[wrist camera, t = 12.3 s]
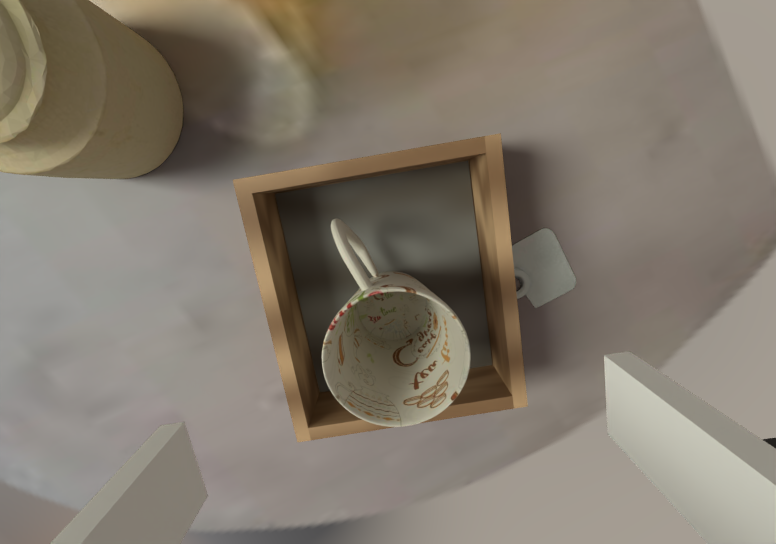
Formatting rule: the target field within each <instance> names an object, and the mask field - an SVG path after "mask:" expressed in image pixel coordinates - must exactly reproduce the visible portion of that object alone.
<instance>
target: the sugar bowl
mask: <svg viewBox="0 0 776 544" xmlns="http://www.w3.org/2000/svg"><path fill="white" fill-rule="evenodd" d="M182 125H183V102H182V96H181V92H180V89H179V86H178V83H177V80H176V78H175V76H174V74H173V71H172V70H171V68H170V67H169V65H168V64H167V62H166V61H165V59H164V58H163V56H162V55H161V54H160V53H159V52H158V51H157V49H156V48H154V47H153V46H152V45H151V44H150V43H149V42H148V41H146V40H145V39H144V38H142V37H141V36H139V35H138V34H137V33H135V32H134V31H132V30H131V29H129V28H128V27H126V26H125V25H124V24H122V23H121V22H119V21H118V20H117V19H115V18H114V17H112V16H111V15H109V14H108V13H107V12H105V11H104V10H102V9H101V8H99V7H98V6H96V5H95V4H93V3H92V2H90V1H89V0H0V171H1V172H5V173H13V174H22V175H36V176H49V177H63V178H100V179H128V178H134V177H137V176H140V175H143V174H146V173H149V172H150V171H152V170H154V169H155V168H157V167H158V166H160V165H161V164H162V163H163V162H164V161H165V160H166V159H167V158H168V156H169V155H170V154H171V153H172V151H173V149H174V147H175V146H176V144H177V142H178V139H179V136H180V133H181V129H182Z"/></svg>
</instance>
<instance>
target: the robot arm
mask: <svg viewBox="0 0 776 544" xmlns="http://www.w3.org/2000/svg"><path fill="white" fill-rule="evenodd" d="M604 365H605V387H606V408H607V430H608V435H609V436H610V437H611V438H612V439H613V440H614V442H615V443H616V444H617V445H618V446H619V447H620V448H621V449H622V450H623V451H624V453H625V454H626V455H627V456H628V457H629V458H630V459H631V460H632V461H633V462H634V464H635V465H637V467H638V468H639V469H640V470H641V471H642V472H643V473H644V474H645V476H646V477H647V478H648V479H649V480H650V481H651V482H652V483H653V484H654V485H655V486H656V488H657V489H658V490H659V491H660V492H661V493H662V494H663V495H664V496H665V497H666V499H667V500H668V501H669V502H670V503H671V504H672V505H673V506H674V507H675V508H676V510H677V511H678V512H679V513H680V514H681V515H682V516H683V517H684V518H685V520H686V521H687V522H688V523H689V524H690V525H691V526H692V527H693V528H694V529H695V530H696V532H698V534H699V535H700V536H701V537H702V538H703V539H704V540H705V541H706V543H707V544H776V438H770V439H764V440H762V439H760V438H759V437H757V436H756V435H754V434H753V433H751V432H750V431H748V430H747V429H745V428H744V427H742V426H741V425H739V424H738V423H736V422H735V421H733V420H732V419H730V418H729V417H727V416H726V415H724V414H723V413H721V412H720V411H718V410H717V409H715V408H714V407H712V406H711V405H709V404H708V403H706V402H705V401H703V400H702V399H700V398H699V397H697V396H696V395H694V394H693V393H691V392H690V391H688V390H687V389H685V388H684V387H682V386H681V385H679V384H678V383H676V382H675V381H673V380H672V379H670V378H669V377H667V376H666V375H664V374H663V373H661V372H660V371H658V370H657V369H655V368H654V367H652V366H651V365H649V364H648V363H646V362H645V361H643V360H642V359H640V358H639V357H637V356H636V355H634V354H633V353H631V352H630V351H628V352H622V353H615V354H609V355H604ZM207 496H208V494H207V491H206V488H205V484H204V481H203V478H202V475H201V472H200V469H199V466H198V463H197V460H196V456H195V453H194V450H193V447H192V444H191V441H190V438H189V435H188V431H187V428H186V425H185V422H180V423H174V424H167V425H161V426H160V427H159V428H158V429H157V430H156V431H155V432H154V433H153V434H152V435H151V436H150V437H149V439H148V440H147V441H146V442H145V443H144V444H143V445H142V446H141V447H140V448H139V449H138V450H137V451H136V452H135V453H134V455H133V456H132V457H131V458H130V459H129V460H128V461H127V462H126V463H125V464H124V465H123V466H122V467H121V468H120V469H119V471H118V472H117V473H116V474H115V475H114V476H113V477H112V478H111V479H110V480H109V481H108V482H107V483H106V484H105V485H104V487H103V488H102V489H101V490H100V491H99V492H98V493H97V494H96V495H95V496H94V497H93V498H92V499H91V500H90V501H89V503H88V504H87V505H86V506H85V507H84V508H83V509H82V510H81V511H80V512H79V513H78V514H77V515H76V516H75V517H74V519H73V520H72V521H71V522H70V523H69V524H68V525H67V526H66V527H65V528H64V529H63V530H62V531H61V532H60V533H59V535H58V536H57V537H56V538H55V539H54V540H53V541H52V542H51V543H50V544H181V542H182V540H183V538H184V537H185V535H186V533H187V531H188V530H189V528H190V526H191V524H192V523H193V521H194V519H195V517H196V516H197V514H198V512H199V510H200V509H201V507H202V505H203V503H204V502H205V500H206V498H207Z"/></svg>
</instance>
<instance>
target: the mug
mask: <svg viewBox="0 0 776 544" xmlns="http://www.w3.org/2000/svg"><path fill="white" fill-rule="evenodd" d="M331 231H332V235H333V238H334V241H335V243H336V246H337V248H338V250H339V253H340V255H341V257H342V258H343V260H344V262H345V264H346V265H347V267H348V269H349V271H350V272H351V274H352V275H353V277H354V279H355V280H356V282H357V284H358V285H359V287H360V289H359V290H358V291H357V292H356V293H355V294H354V295H353V296H352V297H351V298H350V300H349V301H348V302H347V303H346V304H345V305H344V306H343V307H342V308H341V310H340V311H339V312H338V313H337V315H336V316H335V318H334V319H333V321H332V322H331V324H330V326H329V328H328V330H327V333H326V336H325V339H324V342H323V348H322V367H323V373H324V377H325V380H326V382H327V385H328V387H329V389H330V391H331V392H332V394H333V395H334V397H335V398H336V400H337V401H338V402H339V403H340V404H341V405H342V406H343V407H344V408H345V409H346V410H348V411H349V412H350V413H352V414H353V415H355V416H356V417H358V418H360V419H362V420H364V421H367V422H369V423H373V424H376V425H381V426H388V427H404V426H410V425H415V424H419V423H421V422H424V421H427V420H429V419H431V418H433V417H435V416H437V415H438V414H440V413H441V412H442V411H444V410H445V409H446V408H447V407H448V406H449V405H450V404H451V403H452V402H453V401H454V400H455V399H456V398H457V396H458V395H459V393H460V392H461V390H462V388H463V387H464V384H465V382H466V380H467V377H468V373H469V369H470V360H471V353H470V345H469V340H468V336H467V333H466V331H465V329H464V327H463V325H462V323H461V321H460V320H459V318H458V317H457V315H456V314H455V313H454V311H453V310H452V309H451V308H450V307H449V306H448V305H447V304H446V303H445V302H444V301H442V300H441V299H440V298H439V297H438V296H436V295H435V294H434V293H433V292H431V291H430V290H429V289H428V288H427V287H425V286H424V285H423V284H422V283H420V282H419V281H418V280H417V279H415V278H414V277H412V276H410V275H408V274H406V273H402V272H397V271H388V272H383V273H380V274H379V273H378V270H377V268H376V266H375V264H374V262H373V260H372V258H371V256H370V254H369V253H368V251H367V249H366V247H365V245H364V243H363V242H362V241H361V239H360V238H359V237H358V236H357V235H356V234H355V233H354V232H353V231H352V230H351V229H350V228H349V227H348V226H347V225H346V224H345V223H344V222H343V221H342V220H340V219H337V218H336V219H333V220H332V222H331ZM349 243H350V244H349ZM350 245H351V246H352V247H353V249H354V250H355V252H356V253H357V255H358V256H359V257H360V259H361V260H362V262H363V263H364V265H365V266H366V267H367V269H368V270H369V272H370V273H371V274H372V276H373V277H371V278H370V279H369V278H368V276H367V274H366V273H365V271H364V269H363V268H362V266H361V265H360V263H359V261H358V259H357V258H356V256H355V254H354V252H353V250H352V248H351V246H350Z"/></svg>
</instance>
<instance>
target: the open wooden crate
mask: <svg viewBox="0 0 776 544" xmlns="http://www.w3.org/2000/svg"><path fill="white" fill-rule="evenodd" d="M233 183H234V187H235V191H236V196H237V200H238V204H239V208H240V212H241V216H242V220H243V224H244V228H245V232H246V236H247V240H248V244H249V248H250V252H251V256H252V260H253V264H254V268H255V272H256V276H257V280H258V284H259V288H260V292H261V296H262V301H263V305H264V309H265V313H266V317H267V321H268V325H269V329H270V333H271V337H272V341H273V345H274V349H275V353H276V357H277V361H278V365H279V369H280V373H281V377H282V381H283V385H284V389H285V393H286V397H287V402H288V406H289V410H290V414H291V418H292V422H293V426H294V430H295V434H296V438H297V442H303V441H309V440H315V439H322V438H328V437H335V436H341V435H347V434H354V433H360V432H367V431H373V430H379V429H386V428H392V427H388V426H381V425H376V424H373V423H369V422H367V421H364V420H362V419H360V418H358V417H356V416H355V415H353V414H352V413H350V412H349V411H348V410H346V409H345V408H344V407H343V406H342V405H341V404H340V403H339V402H338V401H337V400H336V398H335V397H334V395H333V394H332V392H331V391H330V389H329V387H328V385H327V382H326V380H325V377H324V373H323V367H322V348H323V342H324V339H325V336H326V333H327V330H328V328H329V326H330V324H331V322H332V321H333V319H334V318H335V316H336V315H337V313H338V312H339V311H340V310H341V308H342V307H343V306H344V305H345V304H346V303H347V302H348V301H349V300H350V298H351V297H352V296H353V295H354V294H355V293H356V292H357V291H358V290H359V289H360V287H359V285H358V284H357V282H356V280H355V279H354V277H353V275H352V274H351V272H350V271H349V269H348V267H347V265H346V264H345V262H344V260H343V258H342V257H341V255H340V253H339V250H338V248H337V246H336V243H335V241H334V238H333V235H332V231H331V222H332V220H333V219H336V218H337V219H340V220H342V221H343V222H344V223H345V224H346V225H347V226H348V227H349V228H350V229H351V230H352V231H353V232H354V233H355V234H356V235H357V236H358V237H359V238H360V239H361V241H362V242H363V243H364V245H365V247H366V249H367V251H368V253H369V254H370V256H371V258H372V260H373V262H374V264H375V266H376V268H377V270H378V273H379V274H380V273H383V272H388V271H397V272H402V273H406V274H408V275H410V276H412V277H414V278H415V279H417V280H418V281H419V282H420V283H422V284H423V285H424V286H425V287H427V288H428V289H429V290H430V291H431V292H433V293H434V294H435V295H436V296H438V297H439V298H440V299H441V300H442V301H444V302H445V303H446V304H447V305H448V306H449V307H450V308H451V309H452V310H453V311H454V313H455V314H456V315H457V317H458V318H459V320H460V321H461V323H462V325H463V327H464V329H465V331H466V333H467V336H468V340H469V345H470V353H471V360H470V369H469V373H468V377H467V380H466V382H465V384H464V387H463V388H462V390H461V392H460V393H459V395H458V396H457V398H456V399H455V400H454V401H453V402H452V403H451V404H450V405H449V406H448V407H447V408H446V409H445V410H444V411H442V412H441V413H440V414H438V415H437V416H435V417H433V418H431V419H429V420H427V421H424V422H430V421H437V420H443V419H450V418H456V417H462V416H469V415H475V414H482V413H488V412H494V411H501V410H507V409H513V408H520V407H526V406H528V405H527V394H526V384H525V374H524V364H523V354H522V344H521V334H520V324H519V314H518V304H517V294H516V284H515V273H514V263H513V253H512V243H511V233H510V223H509V213H508V203H507V193H506V183H505V173H504V163H503V153H502V142H501V133H500V134H495V135H489V136H483V137H477V138H472V139H466V140H460V141H454V142H449V143H443V144H437V145H431V146H426V147H420V148H414V149H408V150H403V151H397V152H391V153H385V154H380V155H374V156H368V157H362V158H357V159H351V160H345V161H339V162H334V163H328V164H322V165H316V166H311V167H305V168H299V169H293V170H288V171H282V172H276V173H270V174H265V175H259V176H253V177H247V178H242V179H236V180H233ZM349 244H350V243H349ZM350 246H351V245H350ZM351 248H352V250H353V252H354V254H355V256H356V258H357V259H358V261H359V263H360V265H361V266H362V268H363V269H364V271H365V273H366V274H367V276H368V278H369V279H370V278H371V277H373V276H372V274H371V273H370V272H369V270H368V269H367V267H366V266H365V265H364V263H363V262H362V260H361V259H360V257H359V256H358V255H357V253H356V252H355V250H354V249H353V247H352V246H351ZM424 422H421V423H424Z"/></svg>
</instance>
